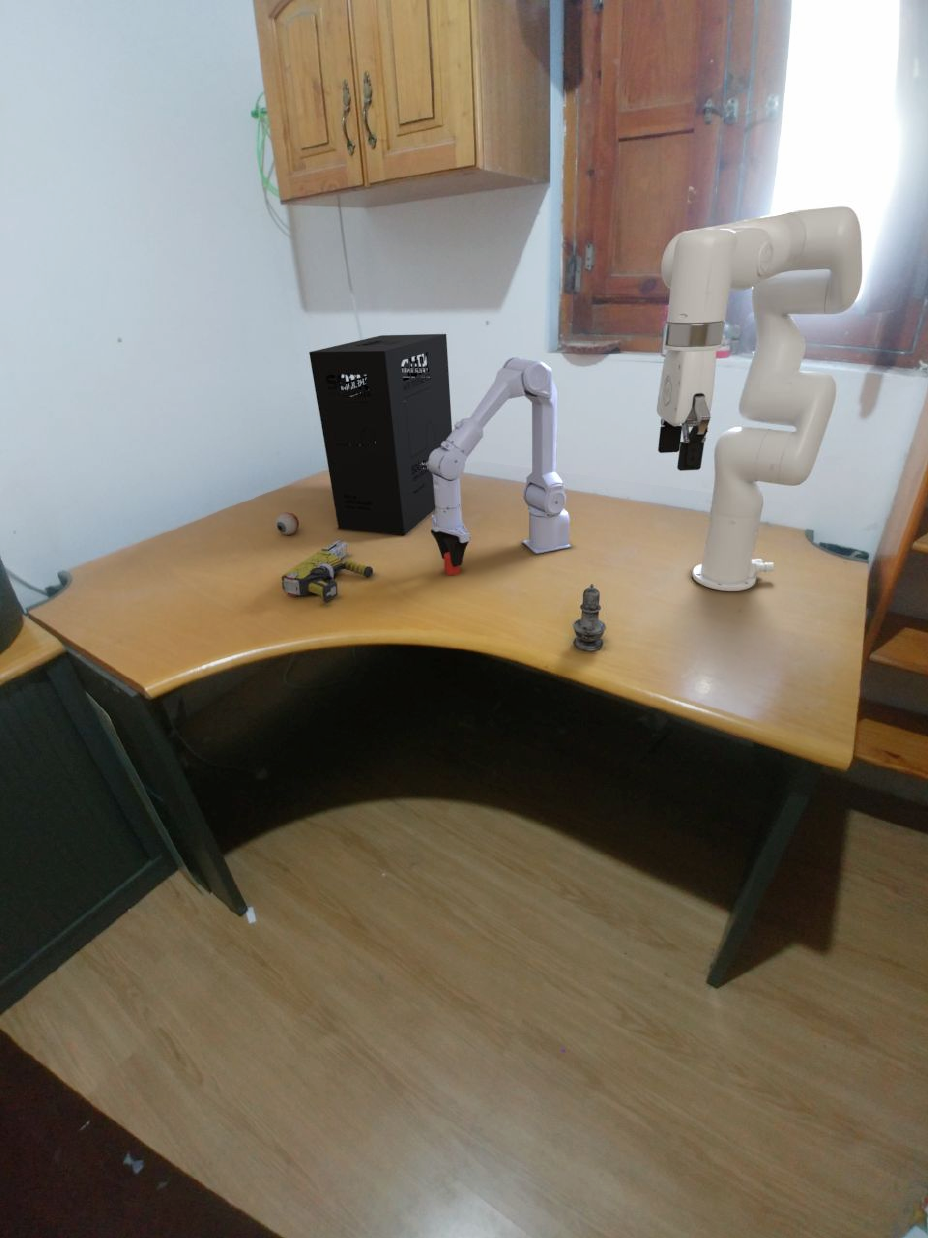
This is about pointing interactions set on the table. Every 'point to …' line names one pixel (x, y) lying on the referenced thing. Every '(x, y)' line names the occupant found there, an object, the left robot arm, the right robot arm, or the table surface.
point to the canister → (450, 565)
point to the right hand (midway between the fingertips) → (678, 460)
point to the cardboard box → (383, 427)
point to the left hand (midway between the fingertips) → (452, 561)
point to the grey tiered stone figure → (589, 622)
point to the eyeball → (287, 523)
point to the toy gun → (321, 572)
